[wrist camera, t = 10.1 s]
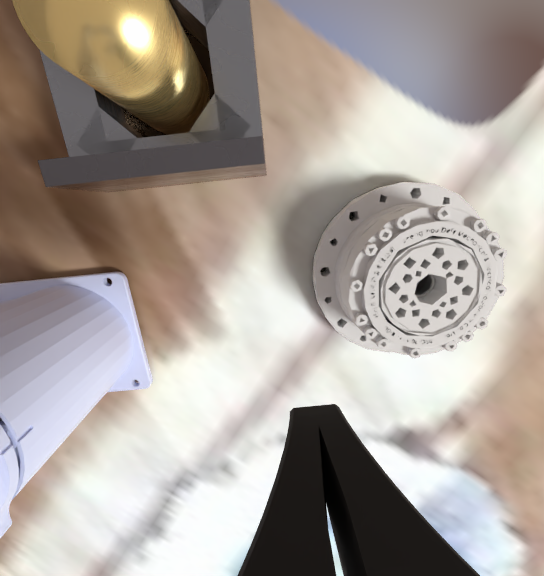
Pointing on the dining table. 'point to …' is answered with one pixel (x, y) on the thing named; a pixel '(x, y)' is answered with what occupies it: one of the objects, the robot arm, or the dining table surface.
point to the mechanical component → (408, 270)
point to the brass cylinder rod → (124, 55)
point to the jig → (176, 147)
